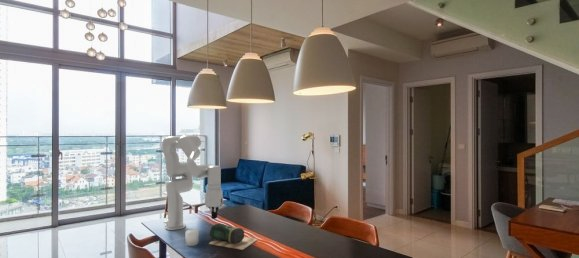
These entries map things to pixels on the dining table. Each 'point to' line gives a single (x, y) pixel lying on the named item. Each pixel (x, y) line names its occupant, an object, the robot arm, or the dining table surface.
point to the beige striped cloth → (240, 245)
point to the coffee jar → (227, 233)
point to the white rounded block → (191, 237)
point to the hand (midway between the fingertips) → (214, 218)
